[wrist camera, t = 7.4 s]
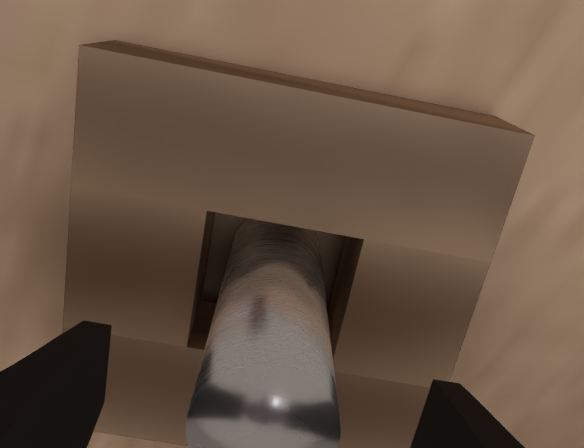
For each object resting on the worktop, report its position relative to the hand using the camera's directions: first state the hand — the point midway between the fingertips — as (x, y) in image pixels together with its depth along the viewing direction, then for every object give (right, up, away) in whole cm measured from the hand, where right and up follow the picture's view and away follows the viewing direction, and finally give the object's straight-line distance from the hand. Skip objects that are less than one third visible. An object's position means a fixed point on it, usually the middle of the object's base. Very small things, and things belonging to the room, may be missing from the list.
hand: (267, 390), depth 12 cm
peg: (0, +3, +7) cm, 7 cm away
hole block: (0, +3, +7) cm, 7 cm away
